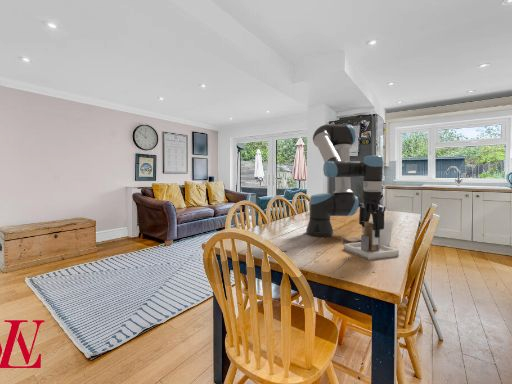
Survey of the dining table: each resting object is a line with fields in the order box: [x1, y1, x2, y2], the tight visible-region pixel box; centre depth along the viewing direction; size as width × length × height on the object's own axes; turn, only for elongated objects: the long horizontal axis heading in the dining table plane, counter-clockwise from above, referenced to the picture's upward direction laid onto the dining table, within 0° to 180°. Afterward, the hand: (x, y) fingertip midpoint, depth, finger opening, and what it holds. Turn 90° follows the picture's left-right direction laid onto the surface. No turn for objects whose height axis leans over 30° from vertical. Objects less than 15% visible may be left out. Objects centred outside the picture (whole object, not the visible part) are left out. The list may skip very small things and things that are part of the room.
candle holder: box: [370, 218, 394, 247], centre depth 132 cm, size 10×10×12 cm
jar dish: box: [343, 234, 400, 261], centre depth 117 cm, size 16×16×8 cm
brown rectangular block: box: [364, 220, 376, 251], centre depth 117 cm, size 5×2×12 cm, turn 19°
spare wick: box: [342, 236, 361, 244], centre depth 133 cm, size 12×5×2 cm, turn 104°
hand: (370, 242), depth 117 cm, fingers closed on brown rectangular block, 5 cm apart
